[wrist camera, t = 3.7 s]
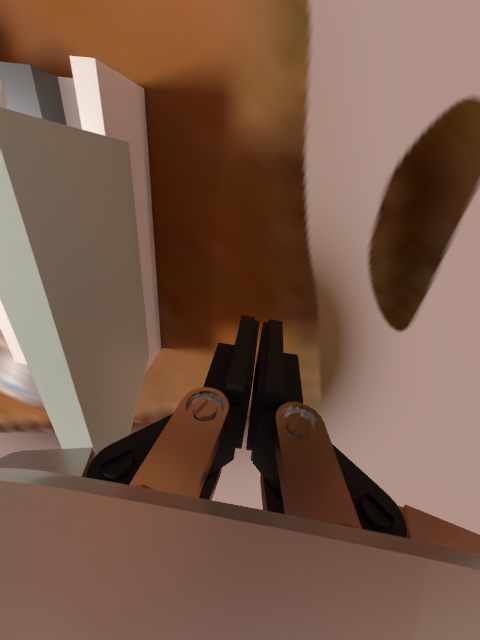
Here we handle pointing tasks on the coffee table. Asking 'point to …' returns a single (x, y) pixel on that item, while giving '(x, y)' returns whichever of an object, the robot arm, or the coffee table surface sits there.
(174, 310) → the coffee table surface
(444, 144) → the coffee table surface
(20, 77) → the white channel
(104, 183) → the cover
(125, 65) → the coffee table surface
